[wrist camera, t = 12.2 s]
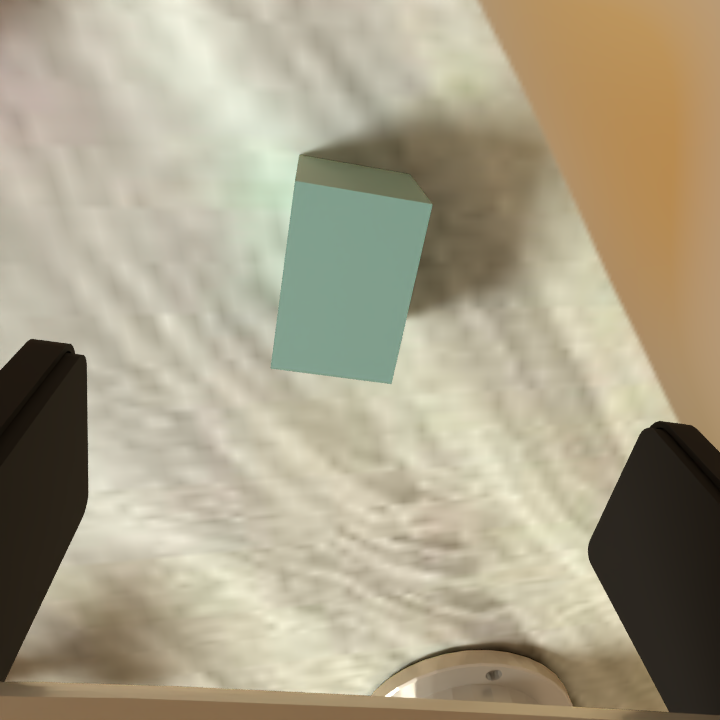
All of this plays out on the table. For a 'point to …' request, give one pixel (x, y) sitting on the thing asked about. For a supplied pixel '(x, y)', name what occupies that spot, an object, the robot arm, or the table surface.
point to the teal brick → (348, 269)
